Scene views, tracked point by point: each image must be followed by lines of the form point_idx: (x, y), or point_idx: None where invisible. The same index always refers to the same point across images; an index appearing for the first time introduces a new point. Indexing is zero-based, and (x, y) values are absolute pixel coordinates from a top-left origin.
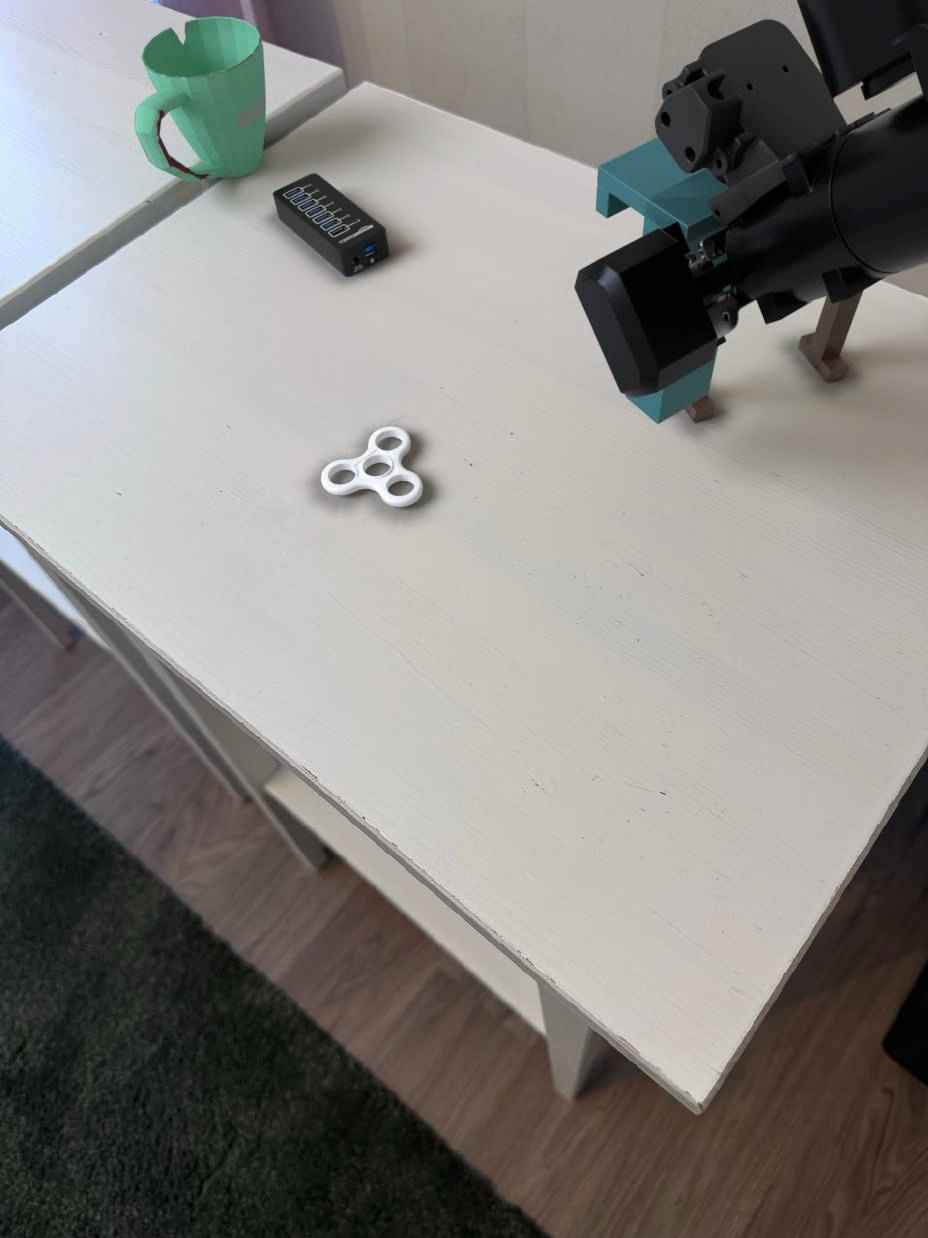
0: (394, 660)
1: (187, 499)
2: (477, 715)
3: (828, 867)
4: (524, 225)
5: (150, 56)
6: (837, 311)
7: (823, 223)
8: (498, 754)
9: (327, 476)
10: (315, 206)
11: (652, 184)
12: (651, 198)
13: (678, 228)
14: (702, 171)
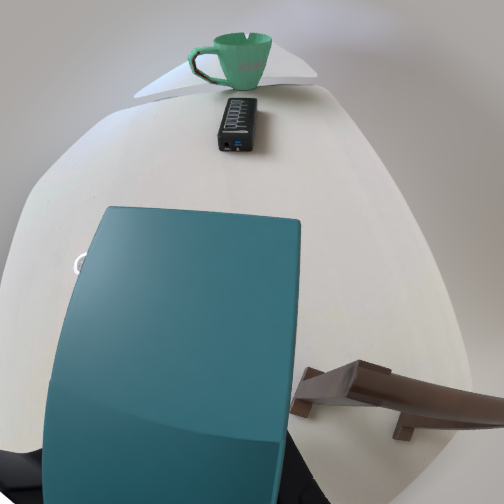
0: (27, 374)
1: (52, 222)
2: (32, 429)
3: None
4: (336, 181)
5: (226, 38)
6: (427, 427)
7: None
8: (29, 447)
9: (79, 259)
10: (236, 111)
11: (99, 358)
12: (56, 390)
13: (5, 495)
14: (255, 443)
